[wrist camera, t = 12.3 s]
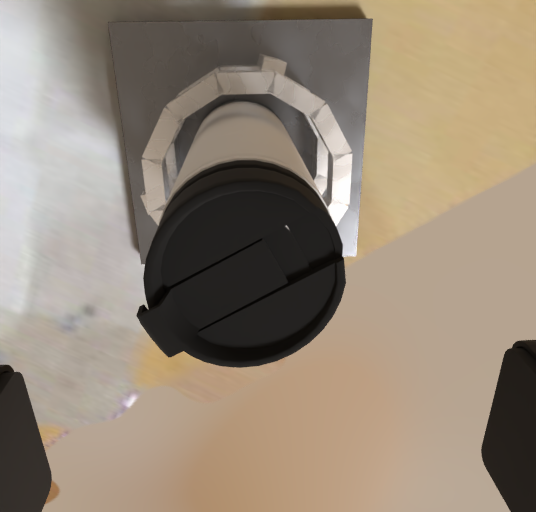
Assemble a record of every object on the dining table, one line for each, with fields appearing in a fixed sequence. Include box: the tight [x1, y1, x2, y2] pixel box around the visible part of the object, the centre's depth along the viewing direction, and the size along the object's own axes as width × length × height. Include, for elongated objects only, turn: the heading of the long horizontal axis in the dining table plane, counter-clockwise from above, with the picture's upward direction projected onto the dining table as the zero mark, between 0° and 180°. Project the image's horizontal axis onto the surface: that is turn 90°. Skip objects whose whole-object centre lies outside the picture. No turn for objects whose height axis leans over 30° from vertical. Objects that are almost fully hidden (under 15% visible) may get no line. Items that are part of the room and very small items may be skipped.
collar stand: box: [108, 19, 373, 264], centre depth 29 cm, size 16×16×9 cm
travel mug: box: [137, 100, 346, 368], centre depth 23 cm, size 6×7×20 cm
